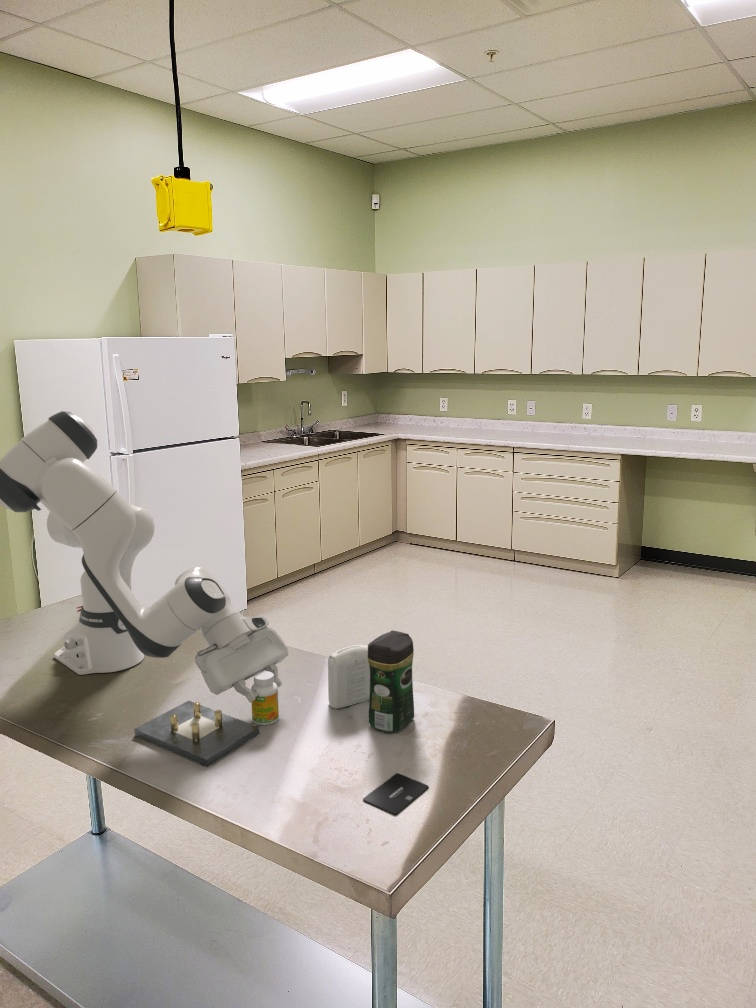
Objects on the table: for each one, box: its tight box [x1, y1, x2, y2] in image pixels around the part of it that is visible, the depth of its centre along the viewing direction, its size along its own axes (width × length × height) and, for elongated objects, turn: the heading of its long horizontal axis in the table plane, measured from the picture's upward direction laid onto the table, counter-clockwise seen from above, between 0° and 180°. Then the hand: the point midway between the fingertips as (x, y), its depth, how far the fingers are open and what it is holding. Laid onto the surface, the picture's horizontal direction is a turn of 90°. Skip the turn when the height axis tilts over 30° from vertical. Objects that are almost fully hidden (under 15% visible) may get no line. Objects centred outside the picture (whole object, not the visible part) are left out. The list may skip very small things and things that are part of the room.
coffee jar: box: [367, 630, 415, 734], centre depth 153 cm, size 10×8×19 cm
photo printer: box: [327, 644, 370, 709], centre depth 163 cm, size 10×4×12 cm, turn 123°
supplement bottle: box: [250, 671, 280, 726], centre depth 155 cm, size 5×5×10 cm
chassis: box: [133, 700, 261, 768], centre depth 150 cm, size 20×14×4 cm
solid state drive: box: [362, 772, 430, 816], centre depth 131 cm, size 7×10×1 cm
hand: (266, 693), depth 155 cm, fingers closed on supplement bottle, 5 cm apart
